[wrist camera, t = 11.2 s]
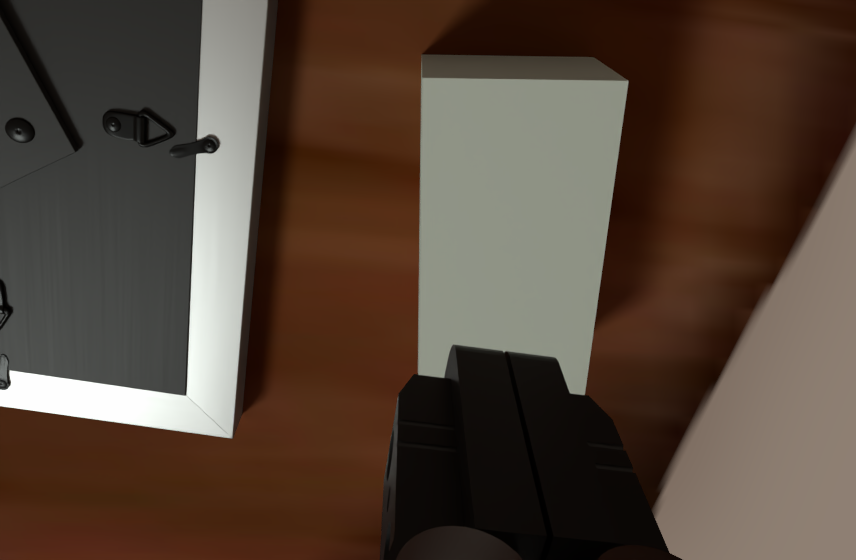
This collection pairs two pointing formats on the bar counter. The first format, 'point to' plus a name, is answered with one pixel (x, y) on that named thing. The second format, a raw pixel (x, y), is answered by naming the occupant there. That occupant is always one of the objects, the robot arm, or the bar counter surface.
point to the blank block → (515, 205)
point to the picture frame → (131, 206)
